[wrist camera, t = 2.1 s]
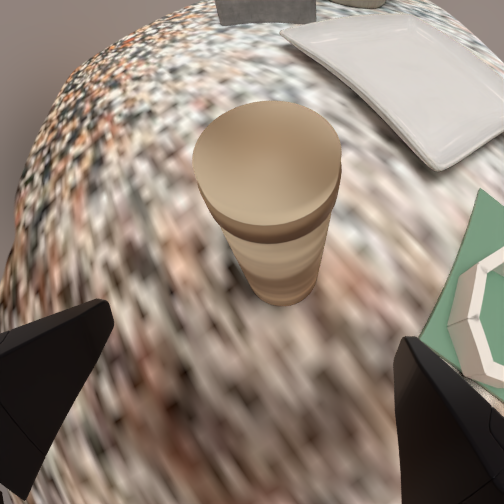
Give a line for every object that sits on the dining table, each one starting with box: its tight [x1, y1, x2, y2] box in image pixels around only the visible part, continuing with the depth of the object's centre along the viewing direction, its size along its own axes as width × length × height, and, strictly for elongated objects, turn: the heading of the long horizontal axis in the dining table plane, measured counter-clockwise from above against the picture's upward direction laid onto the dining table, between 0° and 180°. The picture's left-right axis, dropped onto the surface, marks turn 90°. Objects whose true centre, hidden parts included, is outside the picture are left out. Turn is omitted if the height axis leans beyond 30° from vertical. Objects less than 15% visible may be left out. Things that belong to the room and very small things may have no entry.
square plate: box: [279, 14, 504, 172], centre depth 27 cm, size 27×27×4 cm
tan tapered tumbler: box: [192, 101, 342, 306], centre depth 15 cm, size 5×5×13 cm
